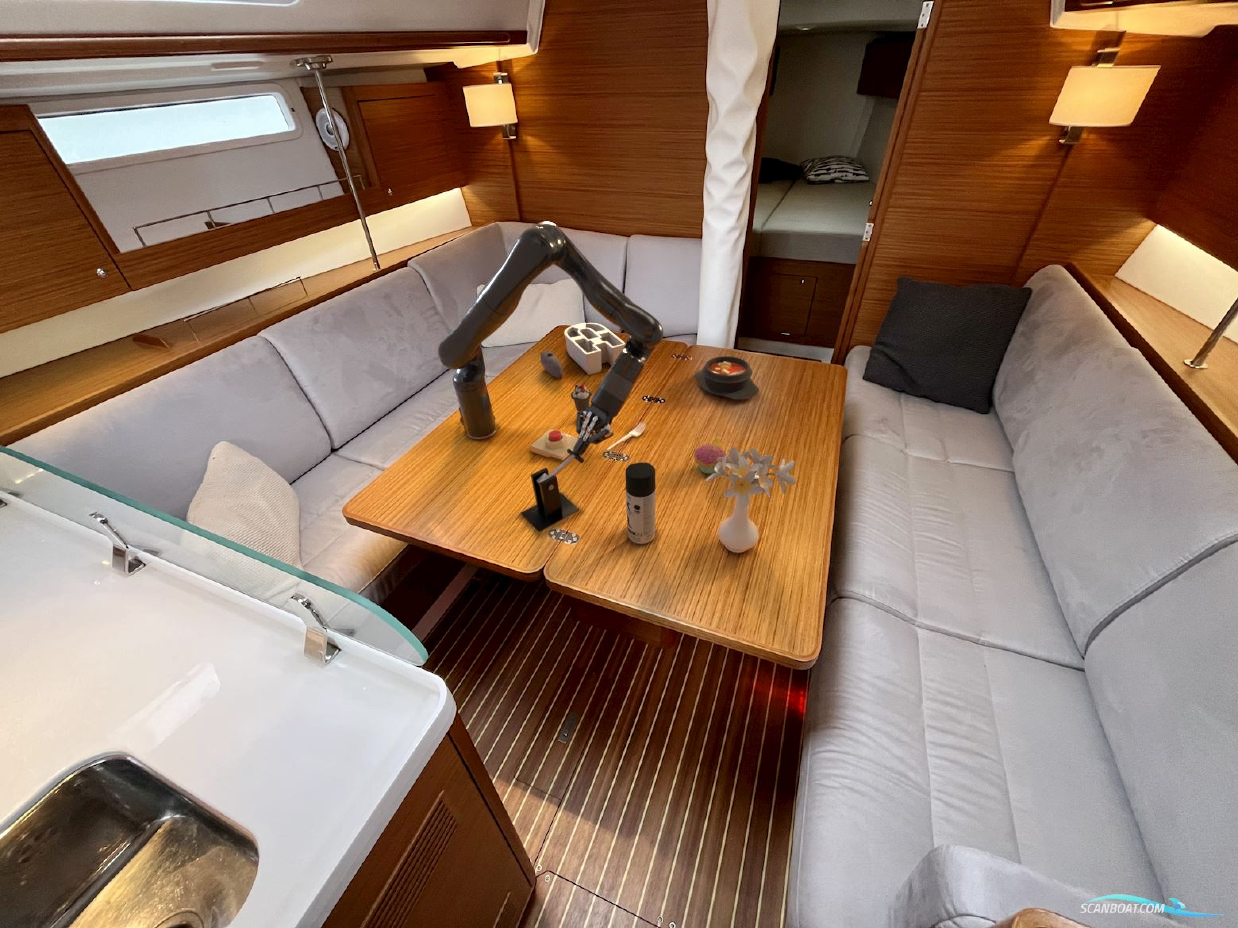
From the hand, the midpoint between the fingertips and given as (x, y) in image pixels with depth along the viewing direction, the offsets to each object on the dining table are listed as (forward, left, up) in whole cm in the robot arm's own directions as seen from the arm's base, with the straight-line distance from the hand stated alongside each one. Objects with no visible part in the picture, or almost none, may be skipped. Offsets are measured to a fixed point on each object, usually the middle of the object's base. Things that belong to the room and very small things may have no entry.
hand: (577, 453), depth 123 cm
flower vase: (+42, +5, -15) cm, 44 cm away
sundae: (-20, +31, -15) cm, 40 cm away
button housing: (-19, +15, -14) cm, 28 cm away
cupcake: (+25, +27, -15) cm, 39 cm away
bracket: (-3, -9, -14) cm, 18 cm away
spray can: (+21, -4, -15) cm, 26 cm away
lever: (-2, -5, -3) cm, 6 cm away
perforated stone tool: (-49, +53, -15) cm, 74 cm away
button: (-19, +15, -11) cm, 27 cm away
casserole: (+12, +72, -15) cm, 74 cm away
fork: (-3, +27, -15) cm, 31 cm away
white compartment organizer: (-44, +72, -15) cm, 86 cm away
